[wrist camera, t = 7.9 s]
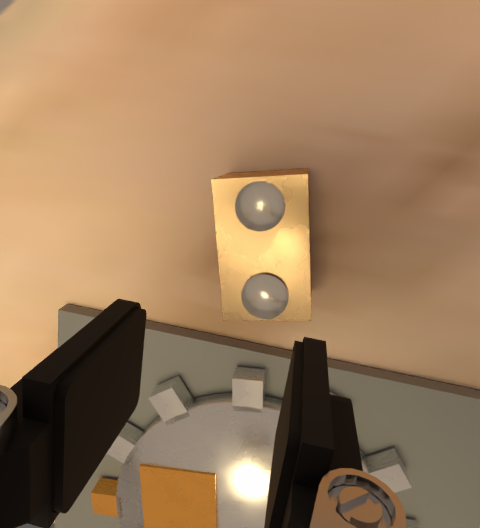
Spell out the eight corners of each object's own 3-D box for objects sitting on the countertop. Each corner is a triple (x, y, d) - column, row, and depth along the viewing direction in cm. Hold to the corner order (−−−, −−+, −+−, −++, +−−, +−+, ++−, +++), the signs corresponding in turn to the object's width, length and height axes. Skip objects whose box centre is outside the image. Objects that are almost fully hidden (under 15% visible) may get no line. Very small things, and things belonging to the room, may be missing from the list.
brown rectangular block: (308, 168, 26) (307, 174, 21) (311, 290, 28) (311, 322, 23) (228, 172, 27) (210, 180, 22) (237, 290, 29) (222, 322, 24)
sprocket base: (519, 398, 28) (545, 430, 25) (413, 658, 35) (422, 707, 32) (67, 303, 31) (41, 321, 28) (61, 559, 39) (40, 594, 36)
